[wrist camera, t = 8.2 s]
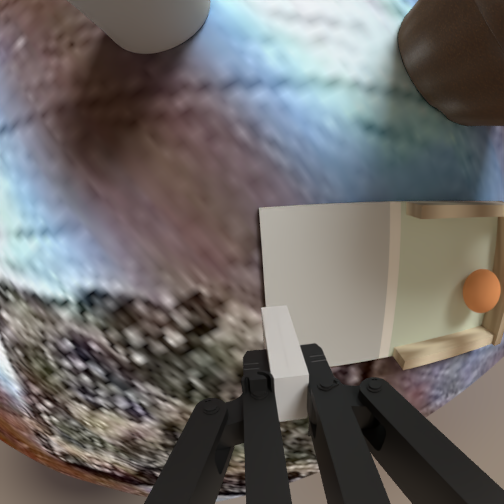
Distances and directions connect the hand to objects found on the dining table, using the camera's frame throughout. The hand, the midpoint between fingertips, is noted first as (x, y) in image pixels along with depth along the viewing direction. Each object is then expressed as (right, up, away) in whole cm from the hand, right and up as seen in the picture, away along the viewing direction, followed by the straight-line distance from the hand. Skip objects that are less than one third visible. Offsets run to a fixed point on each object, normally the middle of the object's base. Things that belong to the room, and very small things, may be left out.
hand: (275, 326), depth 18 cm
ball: (+19, +1, +3) cm, 20 cm away
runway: (+12, +2, +6) cm, 13 cm away
